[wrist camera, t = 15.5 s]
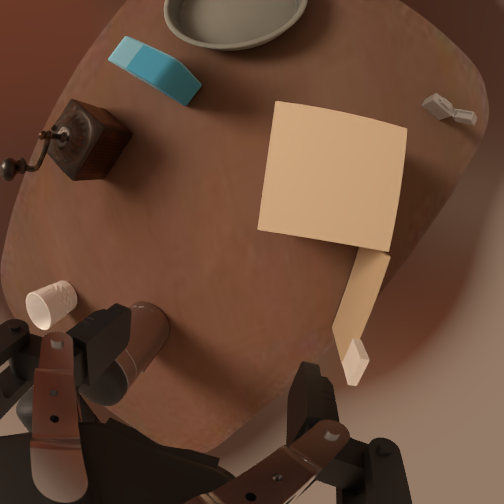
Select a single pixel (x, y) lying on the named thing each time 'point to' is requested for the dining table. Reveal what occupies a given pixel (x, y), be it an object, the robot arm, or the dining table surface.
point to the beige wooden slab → (358, 310)
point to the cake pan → (231, 21)
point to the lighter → (447, 110)
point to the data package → (156, 69)
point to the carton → (332, 176)
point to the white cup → (51, 304)
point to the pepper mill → (78, 144)
